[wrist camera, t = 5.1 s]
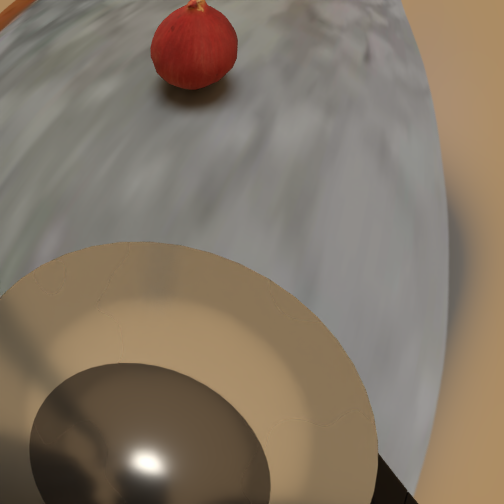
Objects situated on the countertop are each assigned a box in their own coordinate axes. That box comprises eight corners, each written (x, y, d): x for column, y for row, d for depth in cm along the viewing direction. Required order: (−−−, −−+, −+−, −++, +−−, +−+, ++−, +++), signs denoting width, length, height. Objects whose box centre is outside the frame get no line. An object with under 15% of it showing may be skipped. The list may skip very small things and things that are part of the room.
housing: (259, 430, 15) (404, 565, 3) (147, 454, 14) (46, 616, 1) (230, 322, 17) (314, 200, 4) (118, 345, 15) (-67, 282, 3)
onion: (148, 72, 22) (141, -13, 14) (217, 59, 23) (227, -23, 16) (164, 121, 20) (156, 24, 13) (242, 103, 22) (261, 11, 14)
